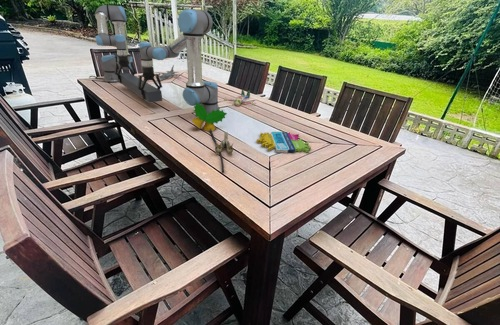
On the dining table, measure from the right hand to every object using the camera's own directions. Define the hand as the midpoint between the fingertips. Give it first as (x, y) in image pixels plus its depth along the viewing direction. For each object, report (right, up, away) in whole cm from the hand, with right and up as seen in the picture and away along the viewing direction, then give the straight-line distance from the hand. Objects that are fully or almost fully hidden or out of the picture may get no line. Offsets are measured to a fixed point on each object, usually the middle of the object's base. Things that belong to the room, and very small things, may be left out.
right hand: (151, 98), depth 192 cm
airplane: (-16, +44, +88) cm, 100 cm away
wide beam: (-18, +11, +18) cm, 28 cm away
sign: (+91, -36, -40) cm, 106 cm away
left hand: (-35, +23, +36) cm, 55 cm away
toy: (+66, +4, +28) cm, 72 cm away
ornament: (+47, -26, -28) cm, 61 cm away
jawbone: (+59, -42, -54) cm, 90 cm away
